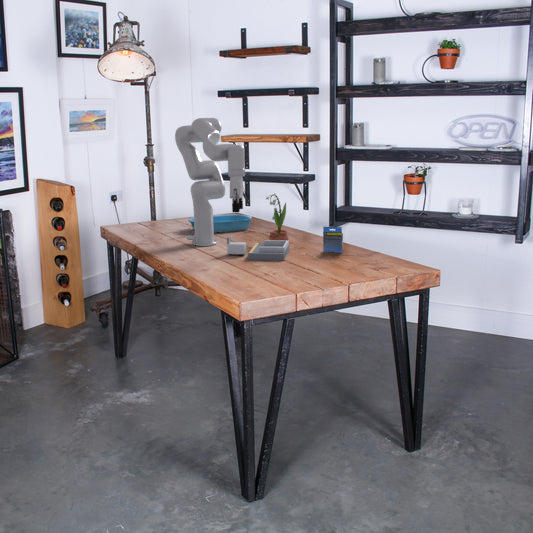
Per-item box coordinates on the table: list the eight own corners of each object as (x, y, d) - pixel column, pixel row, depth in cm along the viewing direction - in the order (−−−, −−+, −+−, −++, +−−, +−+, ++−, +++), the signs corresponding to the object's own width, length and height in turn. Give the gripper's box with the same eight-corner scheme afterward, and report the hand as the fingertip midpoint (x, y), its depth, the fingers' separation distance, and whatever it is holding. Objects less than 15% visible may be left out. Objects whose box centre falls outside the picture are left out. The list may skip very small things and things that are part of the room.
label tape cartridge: (343, 251, 300) (343, 225, 298) (341, 253, 297) (342, 227, 294) (324, 250, 303) (324, 225, 300) (322, 252, 299) (323, 226, 296)
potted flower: (261, 243, 322) (260, 193, 316) (271, 239, 331) (270, 191, 325) (283, 245, 317) (282, 194, 311) (291, 241, 326) (291, 192, 320)
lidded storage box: (227, 255, 295) (226, 237, 293) (229, 253, 300) (229, 235, 298) (244, 256, 294) (244, 237, 292) (246, 253, 299) (245, 235, 297)
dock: (248, 259, 287) (248, 249, 285) (256, 248, 310) (256, 238, 308) (283, 260, 284) (283, 249, 283) (289, 249, 307) (289, 238, 306)
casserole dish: (243, 224, 379) (243, 212, 377) (258, 230, 359) (258, 217, 357) (183, 230, 364) (183, 217, 363) (195, 236, 345) (195, 223, 343)
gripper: (231, 171, 298) (232, 207, 302) (224, 174, 281) (226, 213, 285) (247, 171, 297) (248, 207, 301) (241, 174, 280) (242, 213, 284)
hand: (237, 210), depth 293 cm, fingers open, 9 cm apart
